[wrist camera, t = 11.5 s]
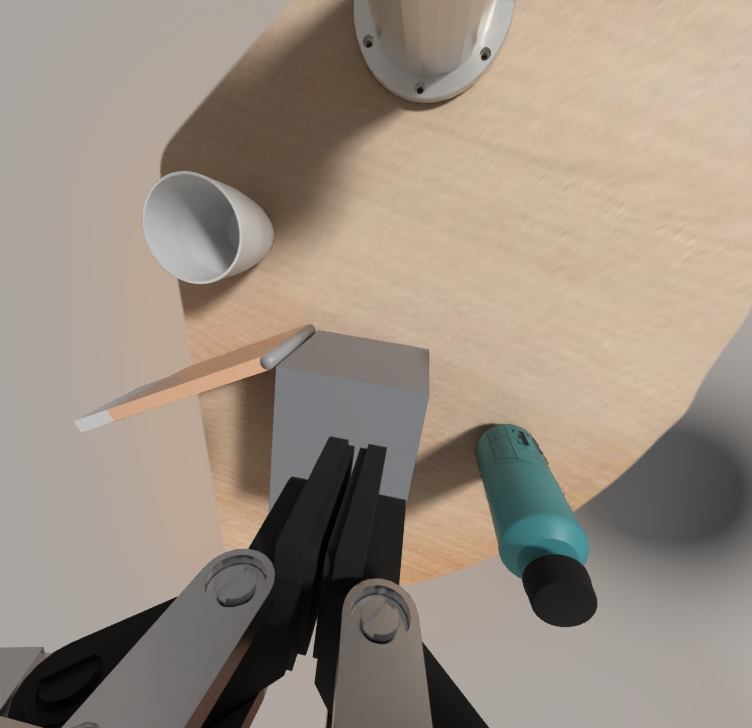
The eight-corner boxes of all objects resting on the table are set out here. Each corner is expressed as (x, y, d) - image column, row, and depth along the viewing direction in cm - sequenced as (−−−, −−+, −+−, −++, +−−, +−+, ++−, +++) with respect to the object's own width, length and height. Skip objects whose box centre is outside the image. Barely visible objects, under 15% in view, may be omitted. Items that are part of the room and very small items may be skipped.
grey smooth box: (319, 330, 40) (276, 366, 29) (429, 349, 39) (429, 394, 28) (307, 455, 45) (267, 527, 34) (404, 475, 44) (395, 555, 33)
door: (312, 322, 39) (270, 353, 29) (317, 333, 40) (276, 367, 29) (158, 377, 44) (73, 421, 34) (163, 386, 44) (80, 432, 34)
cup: (201, 246, 39) (129, 248, 29) (230, 171, 36) (161, 148, 27) (268, 287, 39) (218, 303, 30) (302, 217, 36) (258, 209, 27)
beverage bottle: (466, 458, 43) (495, 632, 24) (482, 408, 40) (528, 555, 22) (522, 472, 42) (598, 659, 23) (542, 421, 40) (642, 584, 21)
